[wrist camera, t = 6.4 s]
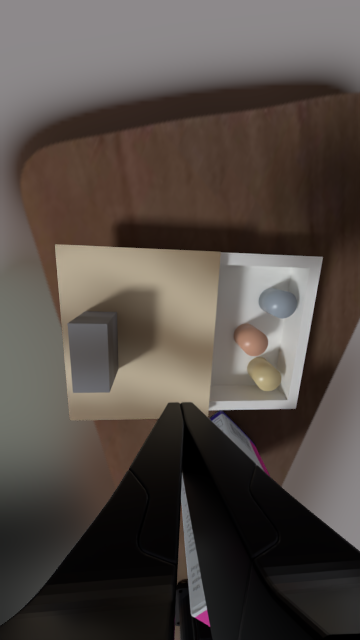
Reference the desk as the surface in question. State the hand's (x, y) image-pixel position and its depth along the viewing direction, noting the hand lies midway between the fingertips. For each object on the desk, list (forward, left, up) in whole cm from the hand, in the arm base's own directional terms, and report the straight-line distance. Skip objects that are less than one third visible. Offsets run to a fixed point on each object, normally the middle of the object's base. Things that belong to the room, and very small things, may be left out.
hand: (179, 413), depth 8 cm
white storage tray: (0, -6, -12) cm, 13 cm away
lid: (0, +2, -9) cm, 9 cm away
